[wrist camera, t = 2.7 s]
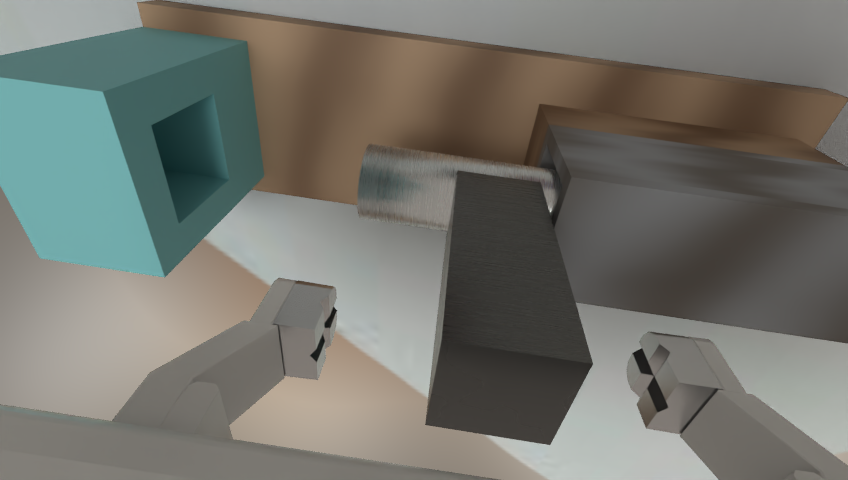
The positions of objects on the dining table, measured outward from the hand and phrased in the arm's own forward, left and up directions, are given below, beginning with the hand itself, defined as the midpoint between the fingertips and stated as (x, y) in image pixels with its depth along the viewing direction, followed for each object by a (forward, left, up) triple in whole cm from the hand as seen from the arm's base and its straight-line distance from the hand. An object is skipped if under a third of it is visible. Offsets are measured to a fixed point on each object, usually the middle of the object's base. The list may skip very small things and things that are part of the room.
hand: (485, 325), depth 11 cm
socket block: (+14, 0, -12) cm, 19 cm away
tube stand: (0, 0, -14) cm, 14 cm away
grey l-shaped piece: (-4, 0, -8) cm, 9 cm away
